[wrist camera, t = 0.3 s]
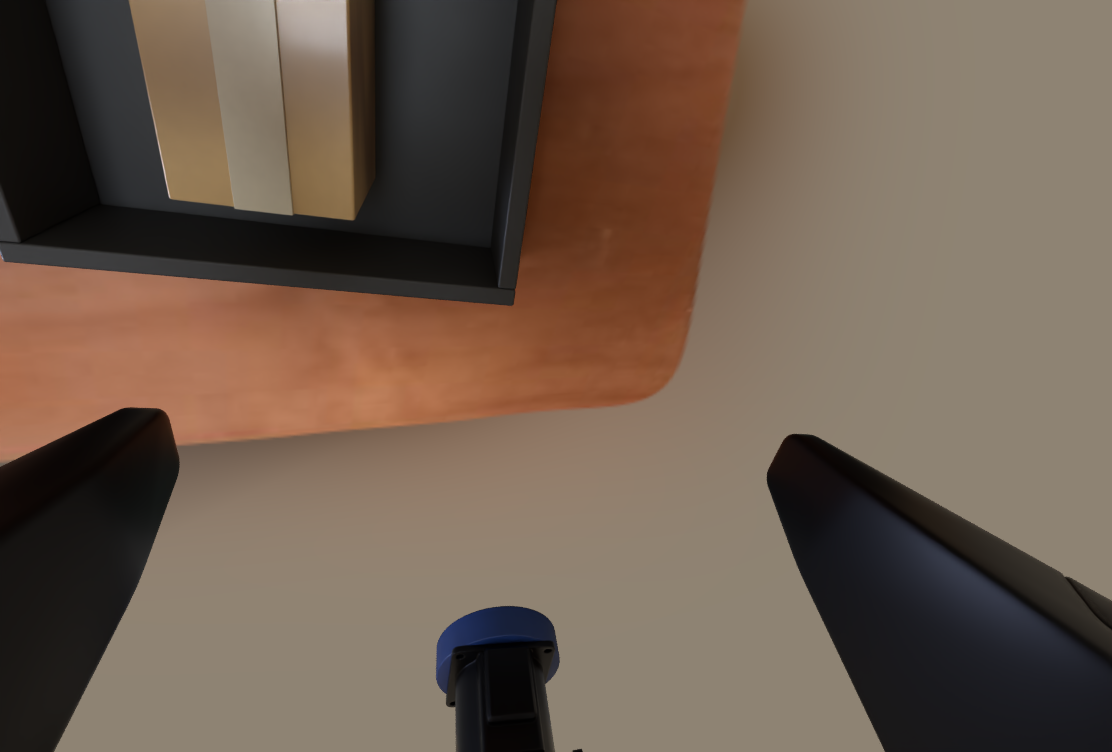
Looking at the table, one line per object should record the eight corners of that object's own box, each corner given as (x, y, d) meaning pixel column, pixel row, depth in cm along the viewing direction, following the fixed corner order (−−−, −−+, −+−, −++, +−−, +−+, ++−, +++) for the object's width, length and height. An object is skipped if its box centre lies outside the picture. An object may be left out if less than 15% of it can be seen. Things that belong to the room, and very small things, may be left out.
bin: (502, 258, 22) (513, 306, 18) (93, 215, 18) (2, 262, 15) (547, -99, 16) (577, -140, 12) (-41, -259, 12) (-249, -381, 9)
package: (375, 179, 19) (354, 222, 14) (234, 160, 18) (166, 201, 13) (375, -31, 16) (346, -54, 11) (202, -70, 14) (101, -110, 10)
